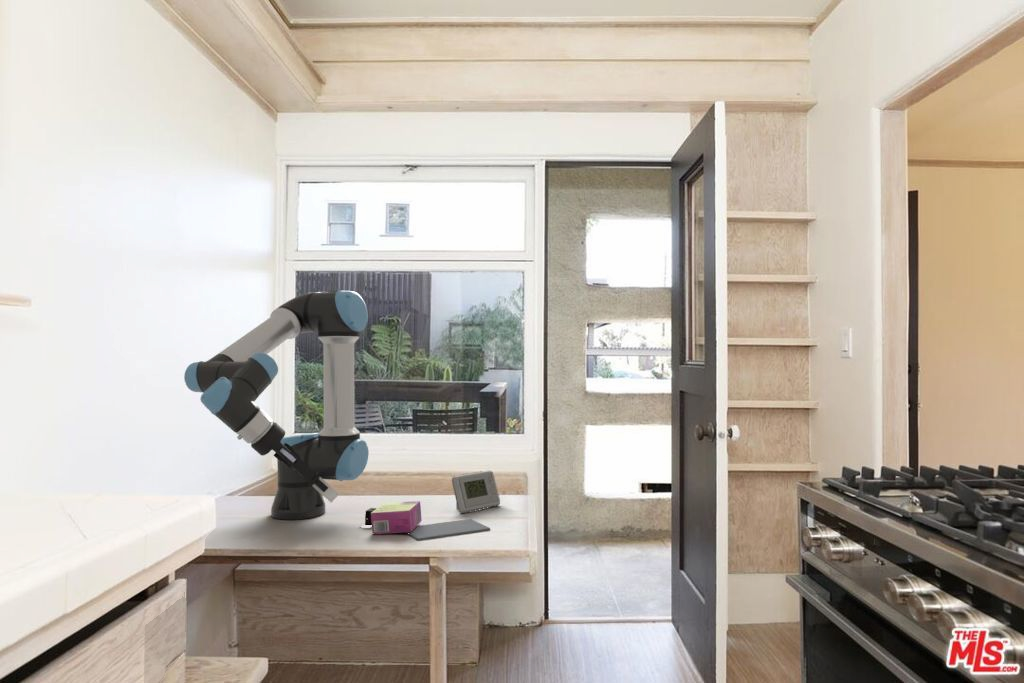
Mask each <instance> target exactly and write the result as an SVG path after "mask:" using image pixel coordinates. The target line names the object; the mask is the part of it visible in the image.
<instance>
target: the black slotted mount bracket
mask: <svg viewBox="0 0 1024 683" xmlns="http://www.w3.org/2000/svg"><path fill="white" fill-rule="evenodd" d="M377 508H378V507H377ZM377 508H375V507H370V508H368V509H367V510H365V515H364V520H365V522H364V524H365V525H372V523H371V512H373V511H374V510H375V509H377Z"/></svg>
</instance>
